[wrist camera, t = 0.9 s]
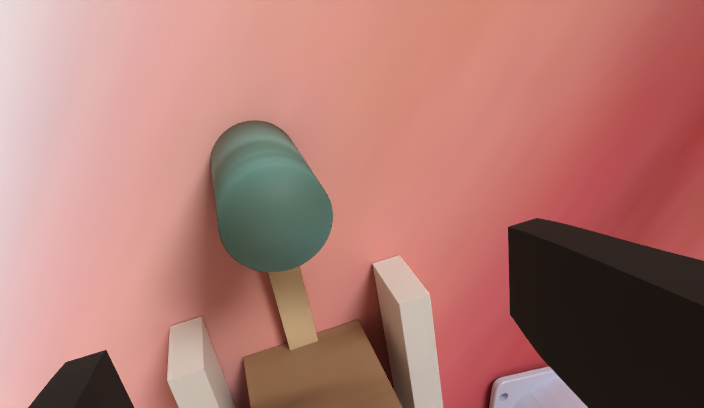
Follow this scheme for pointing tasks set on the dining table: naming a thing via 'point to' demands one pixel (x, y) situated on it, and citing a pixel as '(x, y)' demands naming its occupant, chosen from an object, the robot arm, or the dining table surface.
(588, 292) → the robot arm
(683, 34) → the dining table surface
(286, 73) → the dining table surface
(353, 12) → the dining table surface
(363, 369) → the green and brown toy
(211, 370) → the cubby lanes
